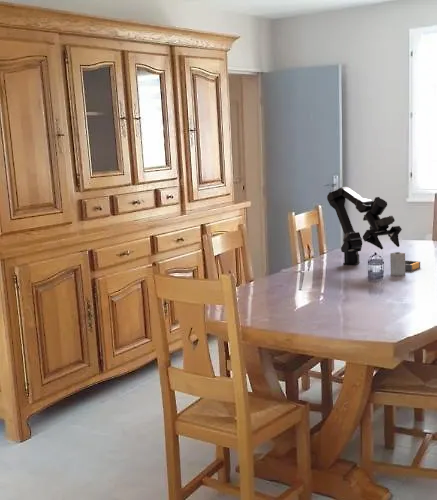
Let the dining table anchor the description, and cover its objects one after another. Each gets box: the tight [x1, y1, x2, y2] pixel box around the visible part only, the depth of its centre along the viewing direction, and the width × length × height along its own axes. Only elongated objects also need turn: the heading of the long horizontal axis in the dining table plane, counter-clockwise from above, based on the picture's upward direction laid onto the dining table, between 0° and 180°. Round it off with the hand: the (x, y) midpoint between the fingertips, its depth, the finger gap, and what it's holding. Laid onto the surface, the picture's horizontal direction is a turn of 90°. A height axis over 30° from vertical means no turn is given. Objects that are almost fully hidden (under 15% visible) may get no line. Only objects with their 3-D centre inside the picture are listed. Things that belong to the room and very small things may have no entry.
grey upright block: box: [389, 251, 406, 277], centre depth 295 cm, size 4×5×10 cm
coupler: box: [405, 259, 421, 272], centre depth 307 cm, size 9×9×3 cm
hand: (390, 247), depth 298 cm, fingers open, 9 cm apart
